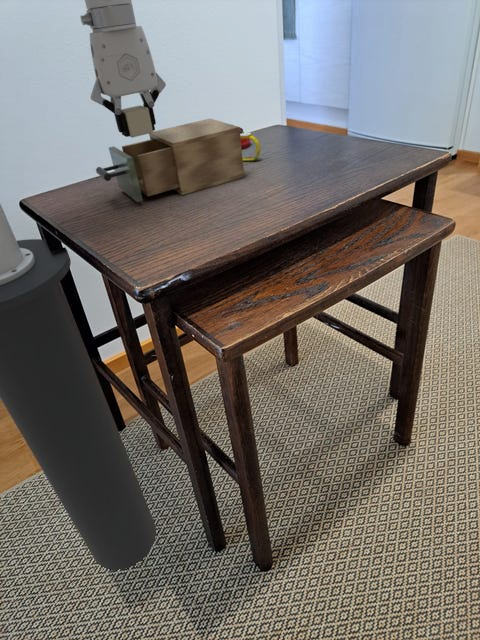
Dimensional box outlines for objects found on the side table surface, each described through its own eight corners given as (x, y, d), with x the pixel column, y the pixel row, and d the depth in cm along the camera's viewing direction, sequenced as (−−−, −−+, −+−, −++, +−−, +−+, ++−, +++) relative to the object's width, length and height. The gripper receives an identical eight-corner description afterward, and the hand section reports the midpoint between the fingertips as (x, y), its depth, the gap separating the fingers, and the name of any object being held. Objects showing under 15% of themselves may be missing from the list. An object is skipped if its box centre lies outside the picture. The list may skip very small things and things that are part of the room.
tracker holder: (256, 142, 113) (217, 139, 110) (252, 159, 116) (215, 156, 113) (244, 121, 121) (208, 118, 118) (241, 137, 124) (206, 134, 121)
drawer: (116, 208, 85) (103, 164, 81) (99, 192, 94) (87, 152, 89) (199, 184, 92) (192, 142, 87) (176, 171, 100) (169, 133, 96)
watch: (262, 159, 105) (260, 132, 101) (257, 162, 103) (255, 135, 99) (239, 158, 107) (237, 132, 104) (234, 161, 105) (231, 135, 102)
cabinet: (182, 195, 90) (172, 143, 84) (158, 180, 100) (148, 132, 94) (244, 177, 95) (239, 126, 90) (216, 164, 105) (210, 118, 99)
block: (131, 137, 84) (125, 112, 82) (124, 134, 88) (118, 109, 85) (153, 132, 86) (148, 107, 83) (145, 129, 89) (140, 105, 87)
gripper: (68, 26, 70) (101, 146, 81) (166, 12, 76) (185, 125, 87) (58, 27, 76) (91, 139, 87) (151, 14, 82) (171, 120, 92)
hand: (138, 131), depth 87 cm, fingers closed on block, 4 cm apart
